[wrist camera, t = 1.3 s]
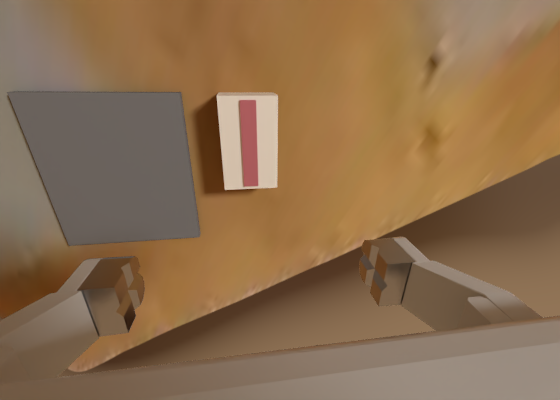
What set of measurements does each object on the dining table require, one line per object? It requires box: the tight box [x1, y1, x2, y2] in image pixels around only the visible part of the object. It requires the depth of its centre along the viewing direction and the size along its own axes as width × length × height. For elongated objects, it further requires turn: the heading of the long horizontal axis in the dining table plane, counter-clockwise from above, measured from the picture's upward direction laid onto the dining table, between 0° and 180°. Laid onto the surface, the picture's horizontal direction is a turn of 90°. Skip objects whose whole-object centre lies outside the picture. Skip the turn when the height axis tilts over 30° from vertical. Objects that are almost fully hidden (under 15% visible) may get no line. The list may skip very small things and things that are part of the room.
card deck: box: [217, 93, 278, 190], centre depth 30 cm, size 10×6×4 cm, turn 179°
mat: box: [7, 92, 200, 246], centre depth 31 cm, size 18×16×1 cm
